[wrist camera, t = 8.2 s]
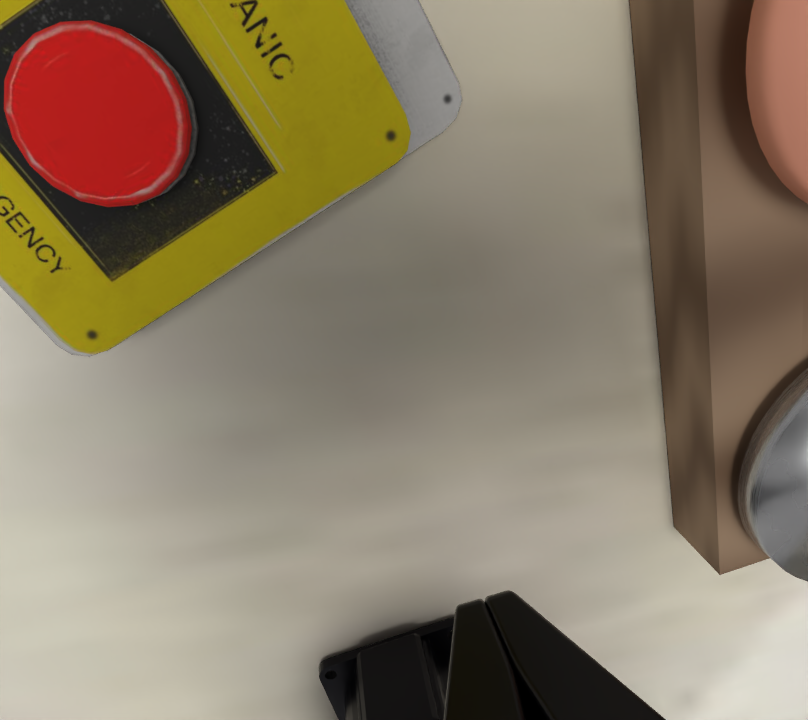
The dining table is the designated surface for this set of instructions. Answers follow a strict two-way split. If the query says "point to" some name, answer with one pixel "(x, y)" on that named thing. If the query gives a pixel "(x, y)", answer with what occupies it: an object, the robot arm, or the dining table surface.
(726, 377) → the housing
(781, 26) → the rust plunger
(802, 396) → the silver round dome
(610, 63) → the dining table surface
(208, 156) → the emergency button
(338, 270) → the dining table surface
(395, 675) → the robot arm
